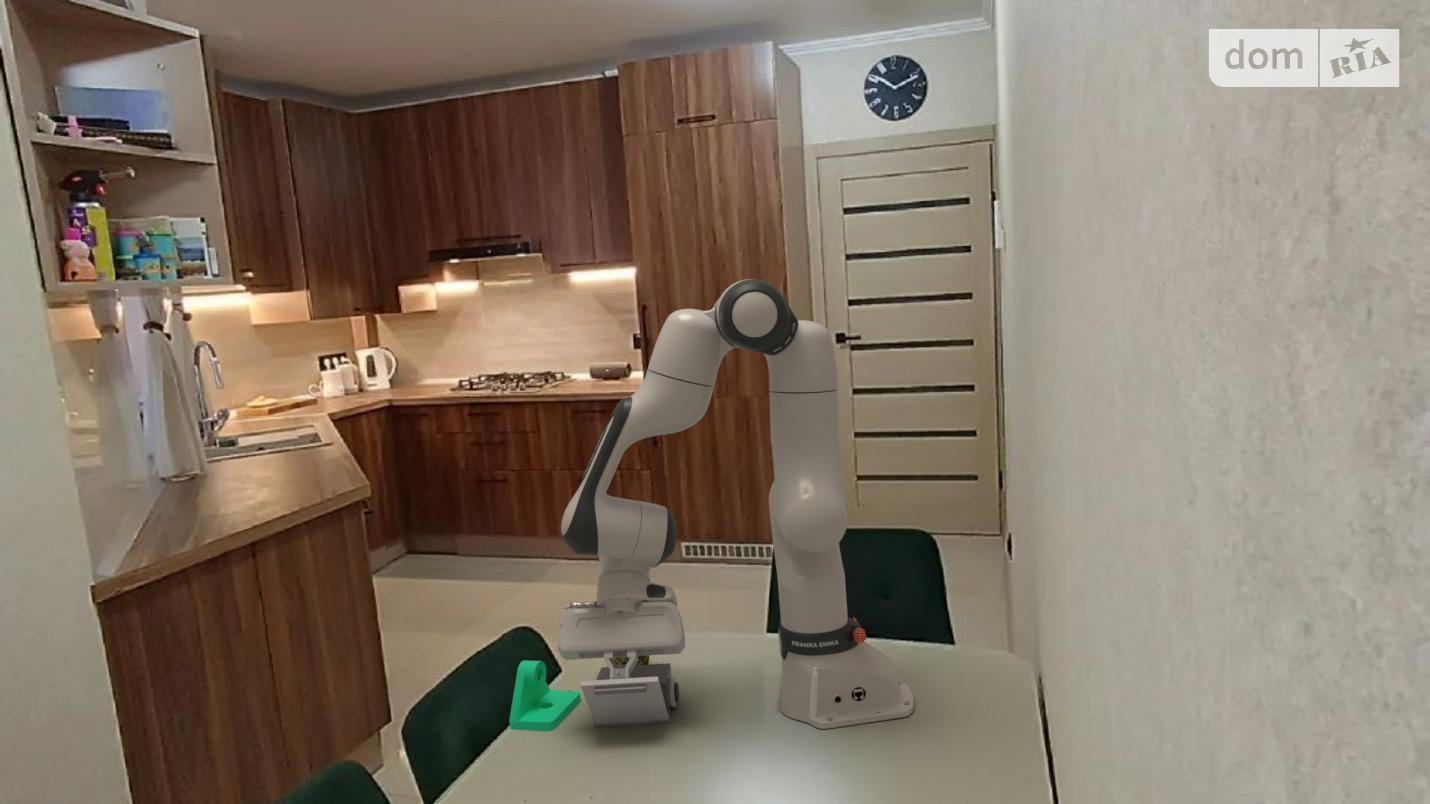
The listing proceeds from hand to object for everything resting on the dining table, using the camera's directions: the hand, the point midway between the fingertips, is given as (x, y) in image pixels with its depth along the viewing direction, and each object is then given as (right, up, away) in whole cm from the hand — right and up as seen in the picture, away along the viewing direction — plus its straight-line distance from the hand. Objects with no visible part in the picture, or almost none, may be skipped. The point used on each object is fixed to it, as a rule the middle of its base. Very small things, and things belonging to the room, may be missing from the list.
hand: (619, 681), depth 143 cm
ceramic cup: (0, -8, +29) cm, 30 cm away
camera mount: (-14, -11, +14) cm, 22 cm away
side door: (+1, -9, +8) cm, 12 cm away
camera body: (+1, -9, +13) cm, 16 cm away
